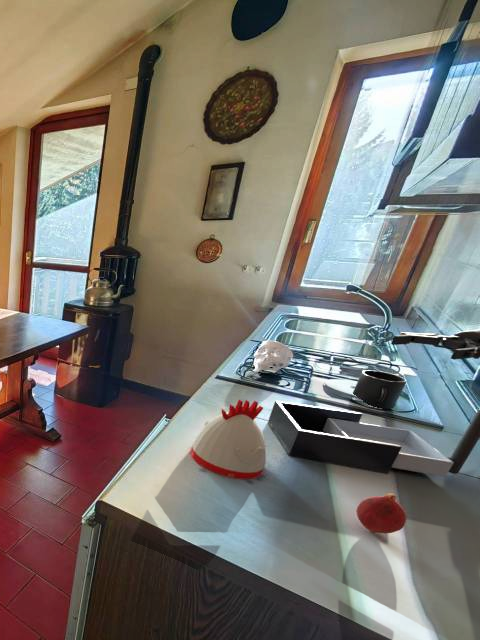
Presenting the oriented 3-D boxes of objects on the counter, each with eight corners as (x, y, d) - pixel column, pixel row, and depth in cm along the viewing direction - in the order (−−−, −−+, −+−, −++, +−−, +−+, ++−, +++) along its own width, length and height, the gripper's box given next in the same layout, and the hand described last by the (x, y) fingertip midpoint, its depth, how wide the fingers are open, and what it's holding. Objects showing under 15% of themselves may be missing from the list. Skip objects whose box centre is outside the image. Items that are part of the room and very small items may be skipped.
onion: (391, 549, 64) (413, 511, 61) (345, 528, 68) (364, 492, 65) (398, 534, 67) (419, 497, 64) (354, 515, 72) (372, 479, 69)
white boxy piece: (417, 445, 93) (448, 388, 87) (461, 479, 81) (500, 416, 75) (322, 430, 99) (345, 376, 94) (349, 460, 87) (377, 399, 81)
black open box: (350, 436, 99) (361, 412, 96) (387, 474, 84) (402, 447, 81) (267, 423, 105) (275, 400, 102) (288, 456, 90) (298, 430, 87)
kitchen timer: (278, 479, 82) (302, 416, 76) (213, 479, 81) (233, 415, 76) (235, 444, 94) (254, 387, 89) (179, 443, 94) (194, 387, 88)
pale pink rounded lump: (240, 366, 143) (257, 336, 142) (250, 378, 151) (265, 351, 151) (273, 374, 134) (291, 343, 134) (281, 387, 143) (298, 358, 143)
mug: (353, 407, 115) (366, 379, 111) (348, 394, 124) (359, 368, 120) (398, 416, 109) (413, 387, 106) (389, 402, 118) (402, 374, 115)
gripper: (530, 369, 107) (476, 374, 102) (415, 342, 129) (367, 346, 124) (546, 342, 104) (491, 347, 99) (426, 320, 126) (377, 323, 121)
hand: (422, 347), depth 112 cm, fingers open, 13 cm apart
